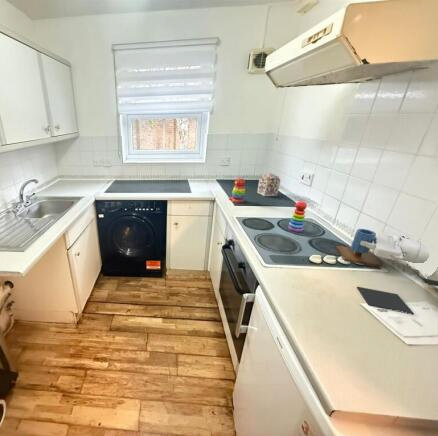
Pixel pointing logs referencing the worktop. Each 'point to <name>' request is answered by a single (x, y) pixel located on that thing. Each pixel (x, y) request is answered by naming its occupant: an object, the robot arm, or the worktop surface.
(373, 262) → the platform
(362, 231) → the blue ribbed cup
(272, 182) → the decorative jar
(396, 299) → the mat
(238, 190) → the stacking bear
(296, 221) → the stacking toy
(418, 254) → the robot arm
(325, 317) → the worktop surface
